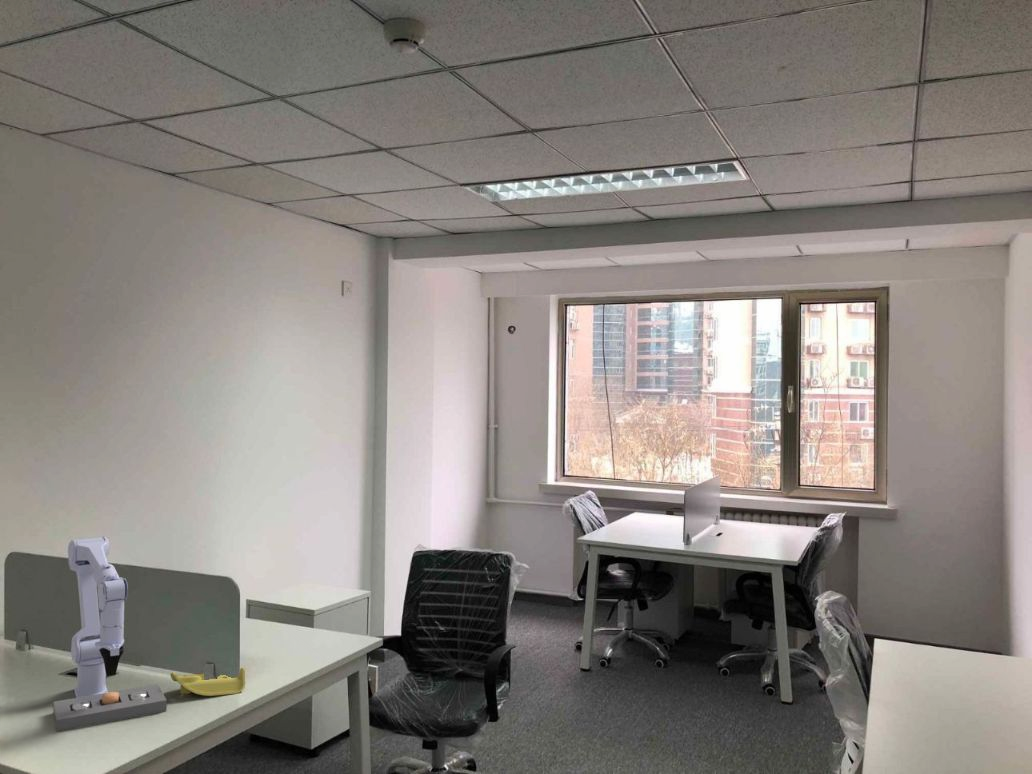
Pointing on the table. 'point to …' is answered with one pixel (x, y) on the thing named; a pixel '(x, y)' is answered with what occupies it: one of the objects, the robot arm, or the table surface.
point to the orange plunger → (110, 698)
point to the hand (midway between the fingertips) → (110, 674)
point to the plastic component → (210, 684)
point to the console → (108, 708)
